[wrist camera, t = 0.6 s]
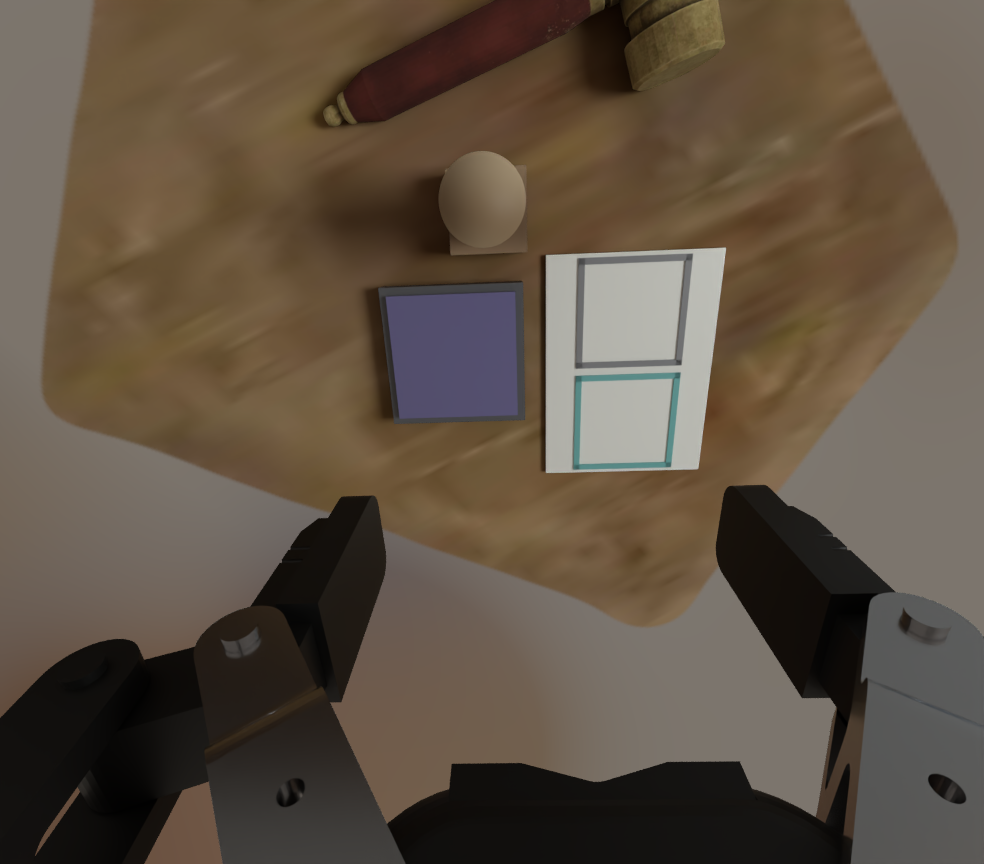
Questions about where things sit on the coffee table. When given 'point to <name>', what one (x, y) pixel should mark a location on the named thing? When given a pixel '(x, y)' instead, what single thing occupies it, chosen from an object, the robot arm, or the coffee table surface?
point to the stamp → (484, 205)
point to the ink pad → (455, 351)
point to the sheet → (629, 358)
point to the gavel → (518, 29)
